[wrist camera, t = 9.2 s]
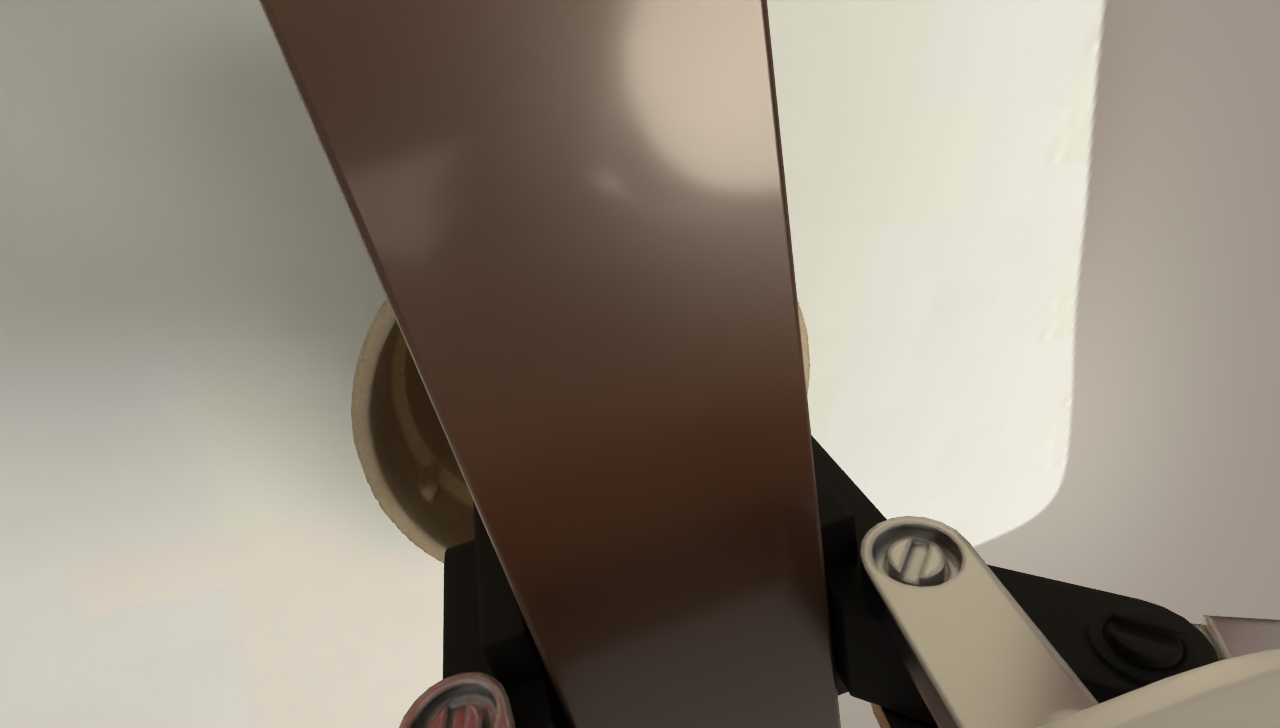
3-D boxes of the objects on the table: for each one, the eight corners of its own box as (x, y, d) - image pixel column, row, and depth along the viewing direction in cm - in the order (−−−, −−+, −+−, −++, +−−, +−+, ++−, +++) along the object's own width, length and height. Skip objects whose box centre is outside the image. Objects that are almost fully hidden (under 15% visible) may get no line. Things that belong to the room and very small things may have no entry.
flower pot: (351, 139, 18) (282, 218, 11) (684, 108, 20) (827, 157, 12) (423, 431, 22) (410, 634, 15) (691, 384, 24) (799, 543, 17)
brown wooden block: (348, 2, 8) (245, -26, 4) (608, -58, 8) (756, -140, 4) (633, 769, 16) (697, 1024, 12) (761, 719, 16) (865, 949, 12)
